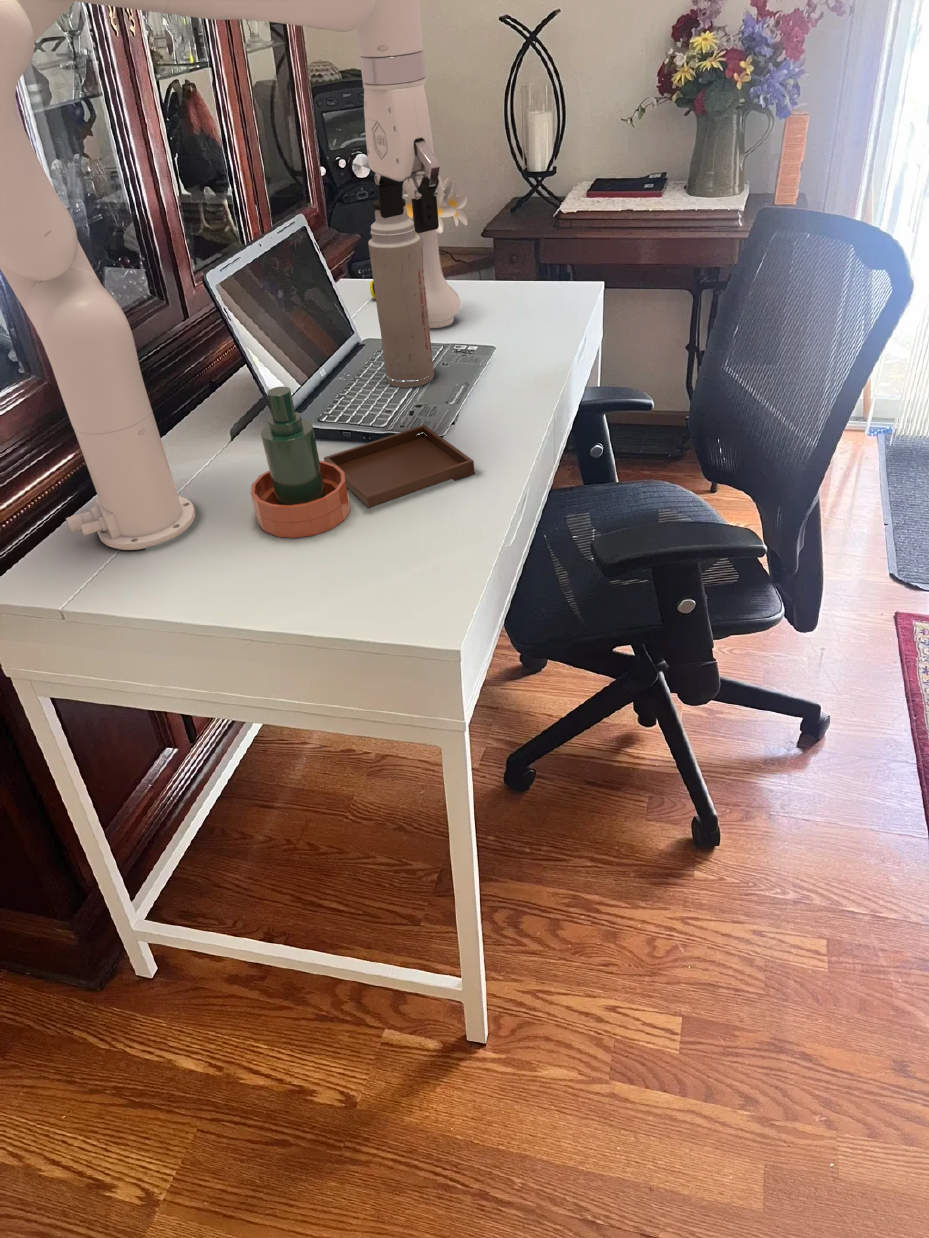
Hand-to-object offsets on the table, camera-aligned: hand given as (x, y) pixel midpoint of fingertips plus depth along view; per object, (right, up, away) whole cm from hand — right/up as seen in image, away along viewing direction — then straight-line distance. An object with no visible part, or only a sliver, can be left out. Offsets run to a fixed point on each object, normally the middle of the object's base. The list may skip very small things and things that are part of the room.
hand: (409, 223), depth 121 cm
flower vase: (+2, +4, +55) cm, 55 cm away
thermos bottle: (-2, -11, +36) cm, 38 cm away
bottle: (-14, -37, +2) cm, 40 cm away
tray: (-2, -31, +10) cm, 32 cm away
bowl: (-14, -38, +2) cm, 40 cm away
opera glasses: (-8, +15, +71) cm, 73 cm away
